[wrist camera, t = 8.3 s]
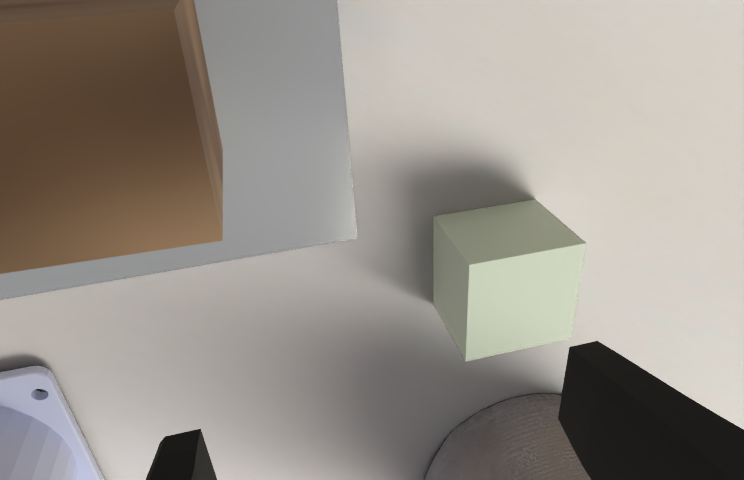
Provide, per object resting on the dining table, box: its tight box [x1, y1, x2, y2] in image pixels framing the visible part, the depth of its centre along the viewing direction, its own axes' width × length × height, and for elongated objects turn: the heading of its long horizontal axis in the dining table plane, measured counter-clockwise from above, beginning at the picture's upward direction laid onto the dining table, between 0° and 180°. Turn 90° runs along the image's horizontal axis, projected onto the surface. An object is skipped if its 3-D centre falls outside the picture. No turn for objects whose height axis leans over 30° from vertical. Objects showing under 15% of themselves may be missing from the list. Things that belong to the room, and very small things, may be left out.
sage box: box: [433, 199, 586, 362], centre depth 20 cm, size 4×4×4 cm
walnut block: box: [0, 0, 223, 274], centre depth 12 cm, size 4×4×6 cm
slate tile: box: [0, 0, 357, 300], centre depth 15 cm, size 12×12×1 cm
